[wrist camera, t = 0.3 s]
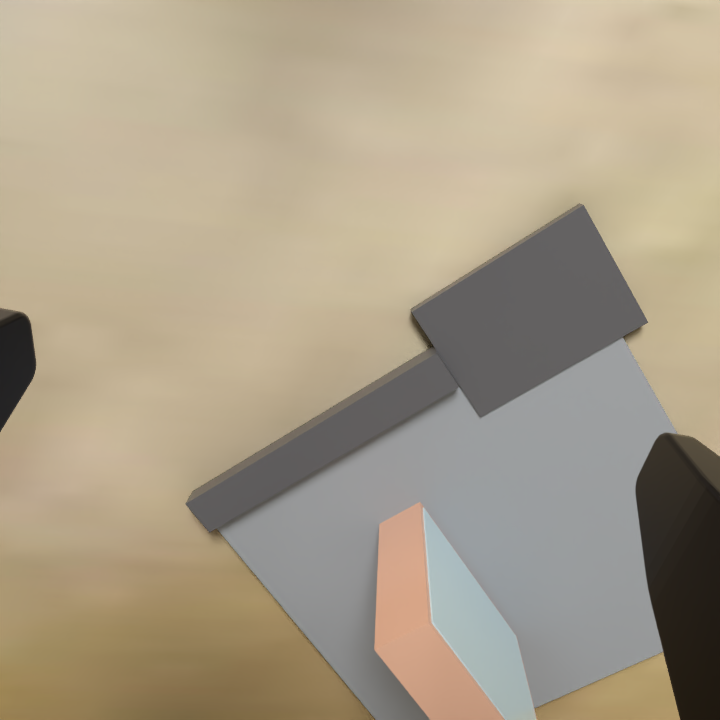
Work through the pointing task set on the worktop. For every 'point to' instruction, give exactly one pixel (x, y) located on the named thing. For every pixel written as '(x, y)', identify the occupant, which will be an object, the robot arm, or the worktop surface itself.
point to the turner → (460, 355)
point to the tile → (444, 628)
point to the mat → (482, 528)
